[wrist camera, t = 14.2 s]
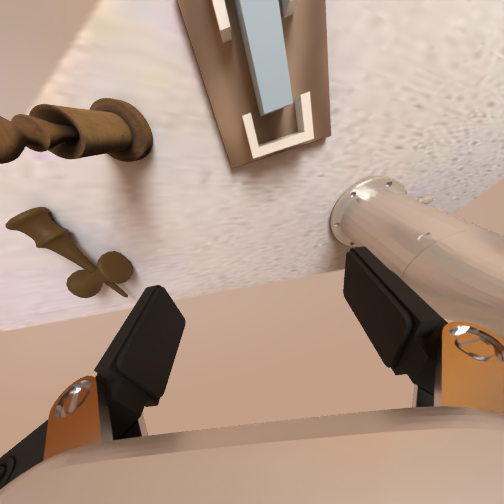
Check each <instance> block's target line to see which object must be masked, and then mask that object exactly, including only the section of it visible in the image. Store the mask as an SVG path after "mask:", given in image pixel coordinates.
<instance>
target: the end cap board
mask: <svg viewBox="0 0 504 504" xmlns="http://www.w3.org/2000/svg"><path fill="white" fill-rule="evenodd" d="M177 1H178V4H179V7H180V10H181V13H182V16H183V20H184V23H185V26H186V29H187V32H188V35H189V38H190V41H191V44H192V47H193V50H194V53H195V56H196V59H197V63H198V66H199V69H200V72H201V75H202V78H203V81H204V84H205V87H206V90H207V93H208V96H209V99H210V102H211V105H212V109H213V112H214V115H215V118H216V121H217V124H218V127H219V130H220V133H221V136H222V139H223V142H224V145H225V148H226V152H227V155H228V158H229V161H230V164H231V167H232V168H235V167H238V166H241V165H244V164H247V163H250V162H253V161H256V160H259V159H262V158H265V157H268V156H271V155H274V154H277V153H280V152H283V151H286V150H289V149H292V148H295V147H298V146H301V145H305V144H308V143H311V142H314V141H317V140H320V139H323V138H326V137H329V136H331V124H330V101H329V77H328V54H327V30H326V6H325V0H300V1H299V3H298V5H297V7H296V10H295V12H294V14H293V15H290V16H288V17H285V18H284V15H283V7H282V0H278V1H279V8H280V15H281V22H282V29H283V36H284V43H285V50H286V56H287V63H288V70H289V77H290V84H291V91H292V98H293V103H292V104H290V105H288V106H286V107H284V108H282V109H279V110H277V111H274V112H272V113H269V114H266V115H264V116H261V117H260V113H259V109H258V104H257V100H256V95H255V91H254V87H253V82H252V78H251V74H250V69H249V65H248V61H247V56H246V52H245V48H244V43H243V39H242V34H241V30H240V26H239V21H238V17H237V13H236V8H235V4H234V0H224V1H225V5H226V10H227V14H228V18H229V22H230V27H231V36H232V40H230V41H227V42H225V43H223V42H222V38H221V34H220V30H219V26H218V23H217V19H216V15H215V11H214V7H213V3H212V0H177ZM309 91H310V99H311V110H312V122H313V133H314V139H311V140H308V141H305V142H302V143H299V144H296V145H293V146H290V147H287V148H284V149H281V150H278V151H275V152H272V153H269V154H266V155H263V156H260V157H257V158H254V159H253V157H252V153H251V150H250V146H249V142H248V138H247V134H246V130H245V127H244V123H243V119H242V116H243V115H246V114H249V113H251V116H252V120H253V124H254V128H255V133H256V137H257V141H258V145H260V144H263V143H266V142H269V141H272V140H275V139H278V138H281V137H284V136H287V135H290V134H293V133H296V132H298V127H297V119H296V111H295V103H294V98H296V97H298V96H299V95H301V94H304V93H307V92H309Z"/></svg>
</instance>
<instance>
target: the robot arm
mask: <svg viewBox="0 0 504 504" xmlns="http://www.w3.org/2000/svg"><path fill="white" fill-rule="evenodd" d="M432 201H433V197H432V195H425V196H421V197H419V198H415V197H413V196H410V195H408V194H407V191H406V190H405V188H404V186H403V185H402V184H401V183H400V182H398V181H396V180H394V179H392V178H388V177H381V176H379V177H372V178H368V179H365V180H363V181H361V182H359V183H357V184H355V185H354V186H352V187H351V188H349V189H348V190H347V191H346V192H345V193H344V194H343V195H342V196H341V197H340V199H339V200H338V201H337V203H336V205H335V206H334V209H333V211H332V214H331V219H330V226H331V230H332V232H333V234H334V236H335V237H336V238H337V240H339V241H340V242H341V243H343V244H345V245H347V246H351V247H356V248H351V249H350V252H347V254H346V265H345V277H344V289H343V293H344V297H345V299H346V301H347V302H348V304H349V306H350V307H351V309H352V311H353V312H354V314H355V316H356V317H357V319H358V321H359V322H360V324H361V325H362V327H363V329H364V331H365V332H366V334H367V336H368V337H369V339H370V341H371V342H372V344H373V346H374V347H375V349H376V351H377V352H378V354H379V356H380V357H381V359H382V361H383V362H384V364H385V365H386V366H387V367H391V368H392V370H393V371H394V373H395V375H402V374H407V375H408V376H409V378H410V379H411V381H412V382H413V383H414V393H413V403H412V408H404V409H391V410H379V411H369V412H358V413H349V414H339V415H330V416H320V417H311V418H301V419H292V420H283V421H274V422H265V423H256V424H247V425H238V426H229V427H221V428H212V429H202V430H194V431H185V432H177V433H168V434H159V435H151V436H148V432H147V429H146V424H145V421H144V417H143V413H142V412H143V409H144V406H146V407H148V406H157V405H158V403H159V399H160V397H162V395H163V394H164V391H165V388H166V385H167V382H168V379H169V375H170V372H171V369H172V366H173V363H174V359H175V356H176V353H177V350H178V347H179V343H180V340H181V337H182V333H183V330H184V327H185V318H184V317H183V315H182V314H181V313H180V311H179V309H178V308H177V306H176V305H175V303H174V302H173V300H172V299H171V297H170V296H169V294H168V293H167V291H166V289H165V288H164V287H161V286H160V285H156V286H151V287H147V288H146V289H145V291H144V292H143V294H142V295H141V297H140V298H139V300H138V302H137V303H136V305H135V306H134V308H133V310H132V311H131V313H130V314H129V316H128V318H127V319H126V321H125V322H124V324H123V325H122V327H121V328H120V330H119V332H118V333H117V335H116V336H115V338H114V340H113V341H112V343H111V344H110V346H109V348H108V349H107V351H106V352H105V354H104V355H103V357H102V359H101V360H100V362H99V363H98V365H97V367H96V368H95V370H94V371H96V372H97V373H98V374H97V376H96V377H93V376H85V377H83V378H80V379H79V380H77V381H75V382H74V383H73V384H71V385H70V386H69V387H68V388H67V389H66V390H65V391H64V392H63V393H62V394H61V395H60V396H59V397H58V399H57V400H56V401H55V403H54V405H53V406H52V408H51V411H50V414H49V419H48V420H47V421H46V422H45V423H43V424H42V425H41V426H39V427H38V428H37V429H36V430H34V431H33V432H32V433H31V434H29V435H28V436H27V437H26V438H25V439H23V440H22V441H21V442H19V443H18V444H17V445H16V446H14V447H13V448H12V449H11V450H9V451H8V452H7V453H6V454H4V455H3V456H2V457H1V458H0V504H504V236H503V235H500V234H498V233H495V232H493V231H490V230H487V229H485V228H482V227H480V226H477V225H475V224H473V223H470V222H467V221H465V220H463V219H460V218H458V217H455V216H453V215H450V214H448V213H445V212H443V211H440V210H438V208H437V207H436V206H433V205H432V206H428V205H425V204H429V203H431V202H432ZM443 318H444V319H448V320H452V321H457V322H452V323H447V322H446V321H445V320H444V319H443Z"/></svg>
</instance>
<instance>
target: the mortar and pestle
mask: <svg viewBox="0 0 504 504" xmlns="http://www.w3.org/2000/svg"><path fill="white" fill-rule="evenodd" d="M25 146H27V147H28V148H30V149H32V150H34V151H38V152H43V151H47V150H49V151H50V152H52V153H53V154H55V155H57V156H59V157H62V158H65V159H77V158H82V157H88V156H93V155H99V154H105V153H107V154H109V155H110V156H112V157H113V158H115V159H118V160H121V161H125V162H131V161H136V160H140V159H142V158H144V157H146V156H147V155H148V154H149V152H150V150H151V147H152V133H151V130H150V127H149V125H148V123H147V121H146V119H145V118H144V117H143V115H142V114H141V113H140V112H139V111H138V110H137V109H136V108H135V107H133V106H132V105H130V104H129V103H127V102H124V101H121V100H116V99H111V98H102V99H99V100H97V101H95V102H94V103H93V104H92V106H91V108H90V110H85V109H77V108H70V107H62V106H56V105H48V104H41V105H37V106H35V107H34V108H33V109H32V110H31V111H30V114H29V115H23V114H19V115H16V116H14V117H13V118H12V120H11V121H8V120H6V119H5V118H3V117H1V116H0V164H3V163H8V162H11V161H13V160H15V159H16V158H18V157H19V156H20V154H21V153H22V151H23V150H24V148H25Z"/></svg>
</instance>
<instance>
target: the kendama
mask: <svg viewBox="0 0 504 504" xmlns="http://www.w3.org/2000/svg"><path fill="white" fill-rule="evenodd" d="M6 228H7V229H10V230H17V231H21V232H23V233H25V234H26V235H28V236H29V237H31V238H32V239H33V240H34V241H35V243H36V247H38V248H47V249H50V250H52V251H54V252H56V253H58V254H60V255H62V256H64V257H65V258H67V259H69V260H71V261H72V262H74V263H76V264H77V265H79V266H81V267H82V268H84V270H78V271H76V272H74V273H72V274H71V276H70V277H69V278H68V279H67V283H66V285H67V287H68V290H69V291H70V292H71V293H73V294H74V295H76V296H78V297H81V298H89V297H92V296H94V295H96V294H97V293H98V292H99V291H100V289H101V288H102V285H103V283H105V284H107V285H108V286H109V287H111V288H112V289H114V290H115V291H116V292H118V293H119V294H121V295H122V296H124V297H128V295H127V294H126V293H125V292H124V291H123V290H122V289H121V288H120V287H118V286H117V285H116V284H115V283H117V284H119V283H123V282H126V281H127V280H128V279H129V278H130V277H131V275H132V274H133V267H132V264H131V262H130V261H129V260H128V259H127V258H126V257H125V256H123V255H122V254H121V253H118V252H115V251H113V252H107V253H105V254H103V255H102V256H101V257H100V259H99V260H98V264H97V267H96V266H95V265H94V264H93V263H92V262H91V261H90V260H88V258H87V257H86V256H85V255H84V254H83V253H82V252H81V251H80V250H79V249H78V248H77V247H76V245H75V244H74V243H73V242H72V241H71V239H70V238H69V235H68V229H65V228H61V227H59V226H58V225H57V224H56V223H55V222H54V221H53V220H52V219H51V218H50V217H49V215H48V209H47V208H46V207H37V208H33V209H30V210H27V211H25V212H23V213H20V214H18V215H17V216H15V217H13V218H12V219H10V220H9V221H8V222H7V223H6Z"/></svg>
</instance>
